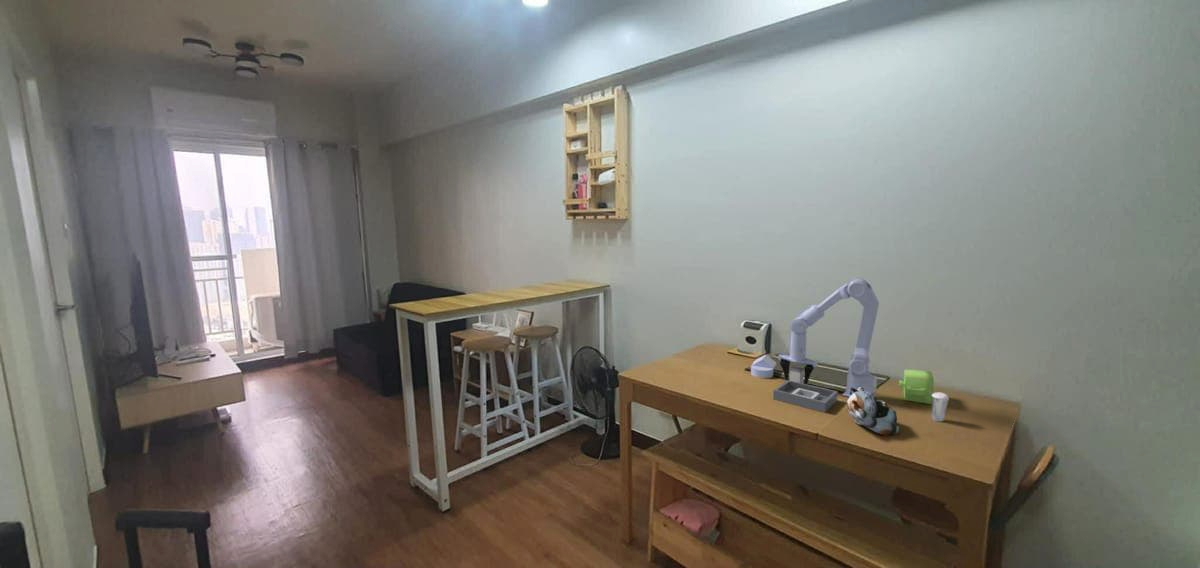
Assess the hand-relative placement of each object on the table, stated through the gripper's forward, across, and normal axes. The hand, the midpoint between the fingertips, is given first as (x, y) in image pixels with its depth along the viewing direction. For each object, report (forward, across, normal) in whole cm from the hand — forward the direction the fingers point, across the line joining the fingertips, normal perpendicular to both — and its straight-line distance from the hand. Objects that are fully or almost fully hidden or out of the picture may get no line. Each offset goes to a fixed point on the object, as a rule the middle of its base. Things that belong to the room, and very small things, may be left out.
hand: (796, 380), depth 183 cm
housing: (+2, +8, -13) cm, 15 cm away
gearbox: (+2, +37, +17) cm, 41 cm away
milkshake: (+2, +46, -1) cm, 46 cm away
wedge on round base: (+2, -16, +5) cm, 17 cm away
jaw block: (+2, 0, 0) cm, 2 cm away
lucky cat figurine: (+2, +32, -21) cm, 38 cm away
